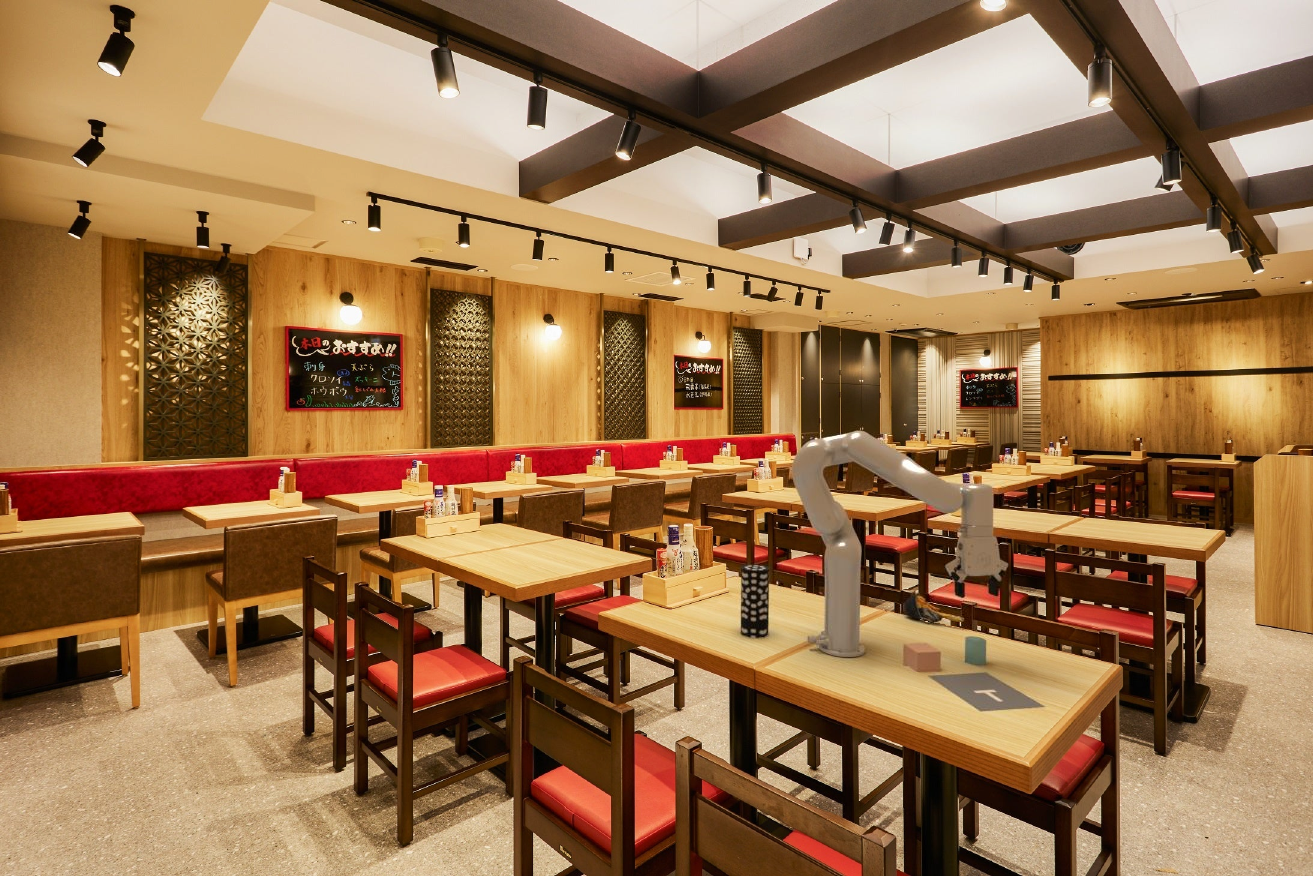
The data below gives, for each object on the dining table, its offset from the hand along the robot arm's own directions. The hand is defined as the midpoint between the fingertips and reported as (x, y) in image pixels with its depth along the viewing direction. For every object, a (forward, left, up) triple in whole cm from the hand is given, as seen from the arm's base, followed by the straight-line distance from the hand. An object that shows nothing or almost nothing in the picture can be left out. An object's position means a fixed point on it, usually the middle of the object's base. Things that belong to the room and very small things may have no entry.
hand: (976, 595), depth 170 cm
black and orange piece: (+10, +36, -19) cm, 42 cm away
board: (-10, -17, -19) cm, 27 cm away
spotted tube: (-50, +33, -19) cm, 63 cm away
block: (-16, -1, -19) cm, 25 cm away
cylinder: (0, 0, -19) cm, 19 cm away
